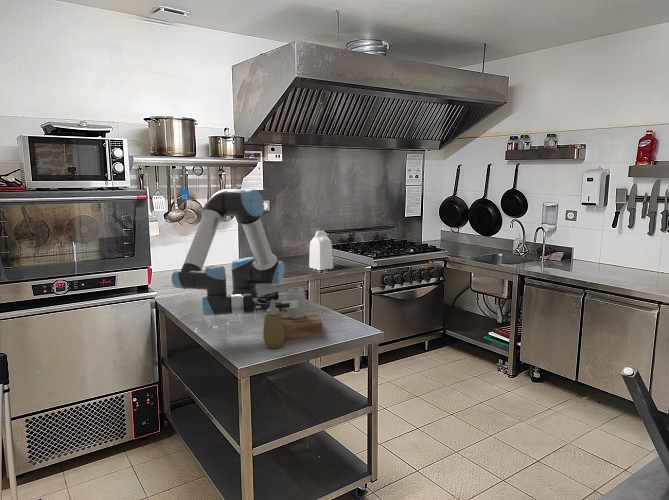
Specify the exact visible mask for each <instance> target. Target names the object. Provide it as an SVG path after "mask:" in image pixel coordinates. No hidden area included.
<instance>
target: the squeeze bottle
mask: <svg viewBox="0 0 669 500" xmlns="http://www.w3.org/2000/svg"><path fill="white" fill-rule="evenodd" d="M275 302H276V301H275V300H273V299H272V300H271V302H270V308H269V309H267V310H266V314H265V315H264V319H263V335H262V336H263V337H262V338H263V340H264V342H265V345H266V348H267V349H279V348H281V347H282V346H283V344H284V341H285V340H284V338H285V334H284V327H283V320H282V315H281V314H279V312H280V311H279V309H278V308H276V305H275Z"/></svg>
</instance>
